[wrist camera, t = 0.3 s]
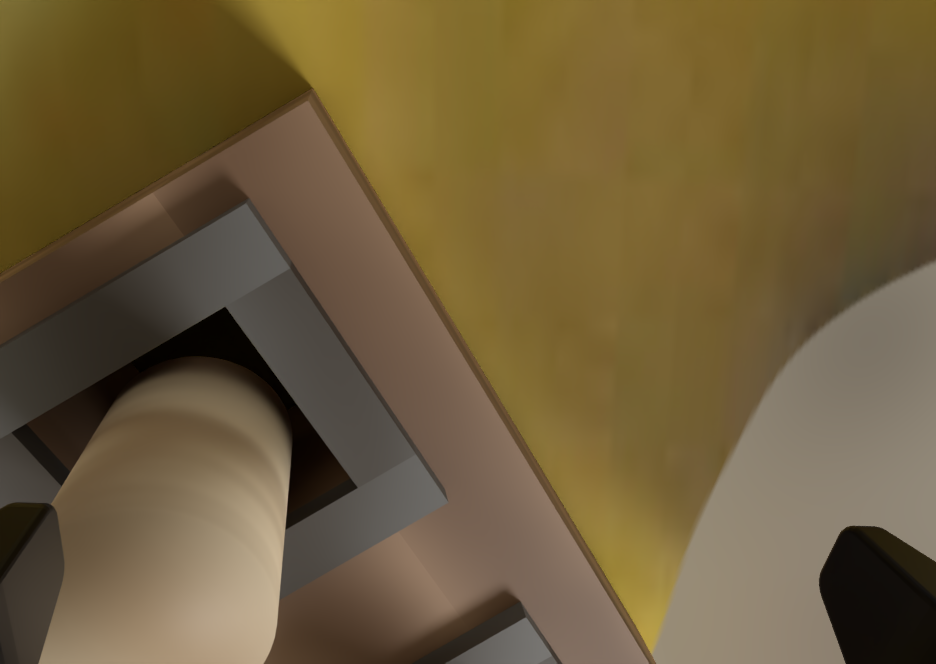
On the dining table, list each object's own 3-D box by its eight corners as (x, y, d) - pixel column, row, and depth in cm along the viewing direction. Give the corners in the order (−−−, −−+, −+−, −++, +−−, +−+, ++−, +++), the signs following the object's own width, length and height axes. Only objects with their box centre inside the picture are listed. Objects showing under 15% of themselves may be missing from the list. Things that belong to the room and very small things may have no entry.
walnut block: (359, 788, 29) (369, 985, 23) (-72, 315, 21) (-239, 426, 15) (637, 629, 29) (722, 785, 23) (312, 88, 20) (307, 102, 14)
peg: (179, 546, 18) (114, 765, 12) (65, 416, 17) (-68, 600, 11) (326, 460, 18) (326, 643, 12) (225, 323, 16) (172, 460, 11)
